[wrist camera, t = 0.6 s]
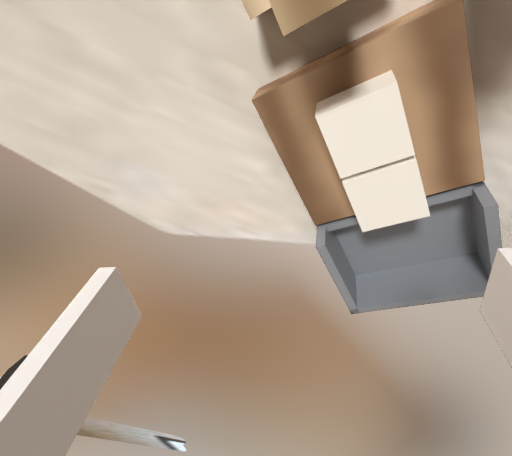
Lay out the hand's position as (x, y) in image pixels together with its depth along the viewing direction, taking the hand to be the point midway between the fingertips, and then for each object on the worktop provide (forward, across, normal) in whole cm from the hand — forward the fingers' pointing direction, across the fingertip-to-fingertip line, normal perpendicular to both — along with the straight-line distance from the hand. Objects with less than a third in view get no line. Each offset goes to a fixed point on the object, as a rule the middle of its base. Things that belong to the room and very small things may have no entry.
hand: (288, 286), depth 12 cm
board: (+23, +6, -2) cm, 24 cm away
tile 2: (+20, +5, 0) cm, 21 cm away
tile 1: (+21, +7, -7) cm, 23 cm away
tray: (+24, +10, -15) cm, 31 cm away
